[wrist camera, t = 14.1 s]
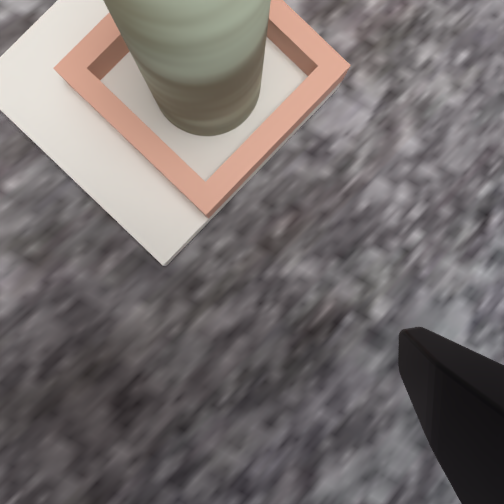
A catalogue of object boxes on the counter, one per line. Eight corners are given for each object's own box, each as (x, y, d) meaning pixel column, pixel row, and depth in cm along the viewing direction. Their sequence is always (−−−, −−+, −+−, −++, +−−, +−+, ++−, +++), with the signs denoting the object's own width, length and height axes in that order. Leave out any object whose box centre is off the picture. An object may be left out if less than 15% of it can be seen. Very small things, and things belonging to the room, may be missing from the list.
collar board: (337, 88, 21) (350, 65, 19) (166, 265, 21) (156, 265, 18) (161, -82, 21) (150, -127, 19) (-14, 92, 21) (-49, 69, 18)
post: (282, 81, 20) (352, -212, 8) (208, 158, 20) (155, -16, 8) (205, 7, 20) (148, -408, 8) (130, 83, 20) (-54, -216, 8)
